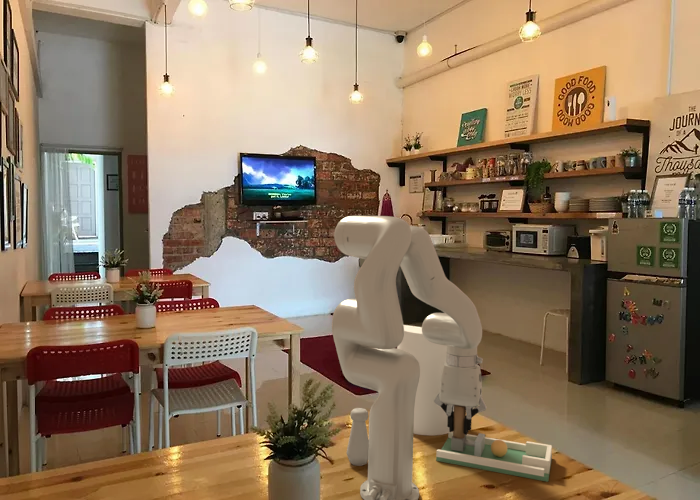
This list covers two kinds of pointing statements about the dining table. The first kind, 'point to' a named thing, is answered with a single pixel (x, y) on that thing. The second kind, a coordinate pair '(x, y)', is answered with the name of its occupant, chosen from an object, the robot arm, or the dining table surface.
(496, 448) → the ball
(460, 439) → the striker
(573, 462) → the dining table surface
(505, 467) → the pitch
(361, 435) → the salt shaker
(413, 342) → the cylinder
